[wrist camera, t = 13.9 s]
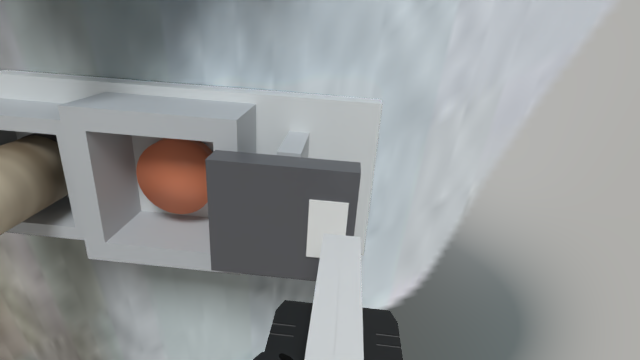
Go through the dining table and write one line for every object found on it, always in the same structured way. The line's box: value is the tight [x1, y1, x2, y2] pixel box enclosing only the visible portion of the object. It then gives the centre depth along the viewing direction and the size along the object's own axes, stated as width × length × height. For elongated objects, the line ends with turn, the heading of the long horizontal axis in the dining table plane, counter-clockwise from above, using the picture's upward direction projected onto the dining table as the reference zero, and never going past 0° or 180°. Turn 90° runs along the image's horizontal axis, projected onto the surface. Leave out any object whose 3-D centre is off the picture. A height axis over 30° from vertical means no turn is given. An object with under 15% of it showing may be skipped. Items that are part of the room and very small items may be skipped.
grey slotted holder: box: [0, 70, 383, 274], centre depth 23 cm, size 23×10×6 cm, turn 86°
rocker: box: [205, 150, 361, 281], centre depth 19 cm, size 7×6×2 cm
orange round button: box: [136, 138, 213, 214], centre depth 23 cm, size 5×5×1 cm
